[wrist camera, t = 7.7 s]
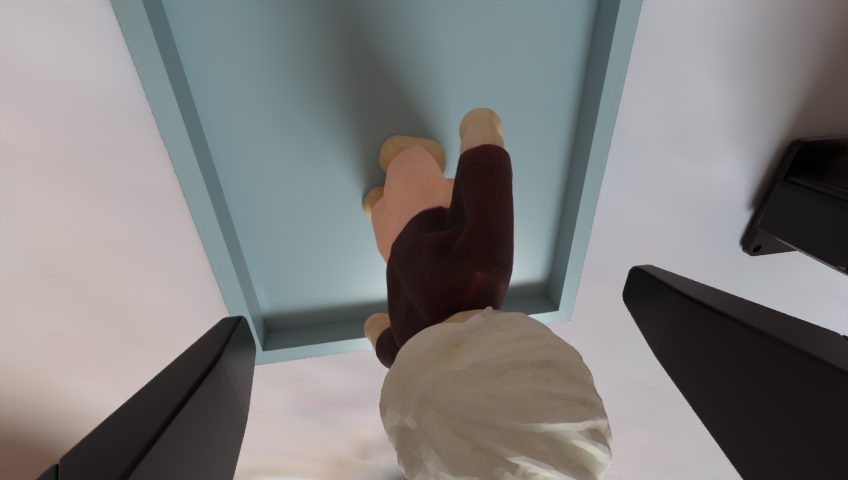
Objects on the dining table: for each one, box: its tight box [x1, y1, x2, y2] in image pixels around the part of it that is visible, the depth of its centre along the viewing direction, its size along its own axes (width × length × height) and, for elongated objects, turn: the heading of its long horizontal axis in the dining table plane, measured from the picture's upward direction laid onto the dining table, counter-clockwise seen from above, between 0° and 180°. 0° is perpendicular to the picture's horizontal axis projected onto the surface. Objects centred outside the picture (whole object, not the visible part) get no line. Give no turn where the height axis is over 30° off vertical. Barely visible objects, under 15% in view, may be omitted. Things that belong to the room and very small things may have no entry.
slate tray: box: [110, 0, 643, 365], centre depth 15 cm, size 16×16×2 cm
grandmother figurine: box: [363, 108, 612, 480], centre depth 10 cm, size 8×4×13 cm, turn 168°
